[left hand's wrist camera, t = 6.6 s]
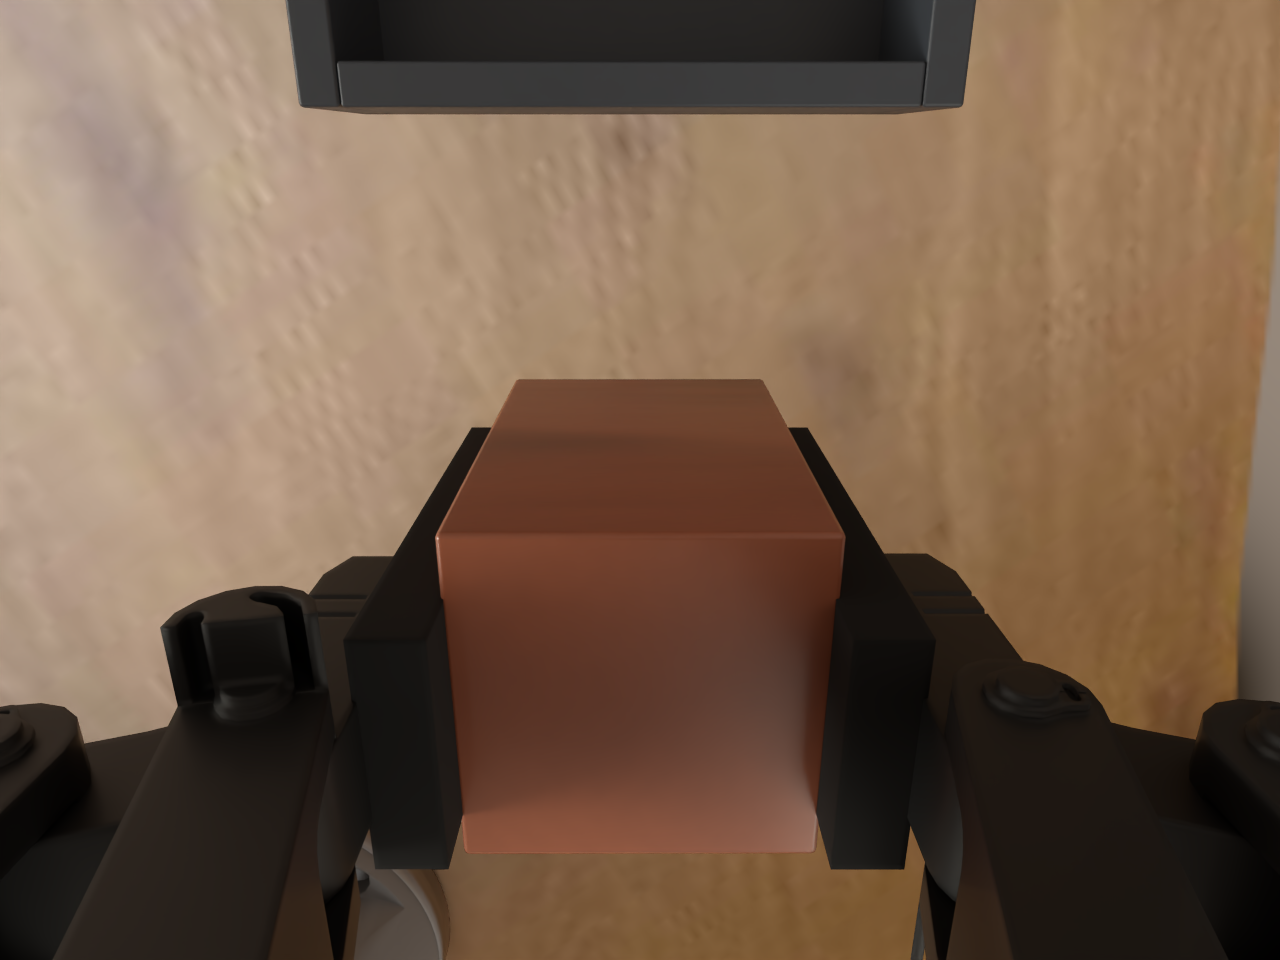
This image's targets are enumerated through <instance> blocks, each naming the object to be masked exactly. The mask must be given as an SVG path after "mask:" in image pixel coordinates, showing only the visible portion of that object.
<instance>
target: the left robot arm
mask: <svg viewBox="0 0 1280 960" xmlns="http://www.w3.org/2000/svg"><path fill="white" fill-rule="evenodd" d="M788 429H789V431H790V433H791V434H792V436H793V438H794V440H795V442H796V444H797V446H798V448H799V449H800V451H801V453H802V455H803V457H804V459H805V461H806V463H807V464H808V466H809V468H810V470H811V472H812V474H813V476H814V478H815V479H816V481H817V483H818V485H819V487H820V489H821V491H822V492H823V494H824V496H825V498H826V500H827V502H828V504H829V506H830V507H831V509H832V511H833V513H834V515H835V517H836V519H837V521H838V522H839V524H840V526H841V528H842V530H843V532H844V534H845V537H846V538H845V549H844V560H843V570H842V581H841V591H840V597H839V599H836V606H835V617H834V628H833V639H832V649H831V660H830V671H829V682H828V693H827V704H826V714H825V725H824V736H823V747H822V758H821V769H820V779H819V790H818V801H817V812H816V815H817V819H818V823H819V827H820V830H821V834H822V838H823V842H824V845H825V849H826V853H827V857H828V860H829V864H830V868H831V869H904V867H905V860H906V853H907V846H908V839H909V832H910V825H911V828H912V830H913V833H914V835H915V838H916V840H917V843H918V845H919V848H920V850H921V853H922V855H923V858H924V860H925V866H924V873H923V880H922V886H921V893H920V900H919V906H918V913H917V920H916V926H915V933H914V940H913V946H912V953H911V960H923V955H924V949H925V953H926V960H1280V703H1278V702H1272V701H1256V700H1244V699H1236V700H1231V701H1225V702H1219V703H1215V704H1214V705H1213V706H1212V707H1210V708H1209V709H1208V710H1206V711H1205V712H1204V713H1203V716H1202V720H1201V723H1200V727H1199V731H1198V734H1197V738H1196V740H1194V739H1189V738H1183V737H1178V736H1173V735H1168V734H1162V733H1157V732H1152V731H1147V730H1141V729H1136V728H1131V727H1127V726H1123V725H1119V724H1115V723H1111V722H1110V720H1109V718H1108V716H1107V714H1106V712H1105V710H1104V708H1103V706H1102V704H1101V703H1100V702H1099V701H1098V700H1097V698H1096V697H1095V696H1094V695H1093V694H1092V692H1091V691H1090V690H1089V689H1088V688H1086V687H1085V686H1083V685H1082V684H1080V683H1079V682H1077V681H1076V680H1074V679H1073V678H1071V677H1069V676H1068V675H1066V674H1064V673H1061V672H1058V671H1056V670H1053V669H1051V668H1048V667H1045V666H1043V665H1040V664H1036V663H1031V662H1026V661H1023V660H1022V659H1021V657H1020V656H1019V655H1018V653H1017V652H1016V651H1015V649H1014V648H1013V647H1012V645H1011V644H1010V643H1009V641H1008V640H1007V639H1006V637H1005V636H1004V635H1003V633H1002V632H1001V631H1000V629H999V628H998V627H997V625H996V624H995V623H994V621H993V620H992V619H991V617H990V616H989V615H988V614H985V612H984V608H983V607H982V605H981V604H980V603H979V601H978V600H977V599H976V597H975V596H972V595H971V591H970V589H969V588H968V587H967V585H966V584H965V583H964V581H963V580H962V579H961V578H960V576H959V575H958V574H957V572H956V571H954V570H953V569H951V568H950V567H948V566H946V565H945V564H943V563H941V562H940V561H938V560H936V559H935V558H933V557H932V556H930V555H928V554H884V553H883V551H882V550H881V548H880V546H879V545H878V543H877V541H876V540H875V538H874V536H873V535H872V533H871V532H870V530H869V528H868V527H867V525H866V523H865V522H864V520H863V518H862V517H861V515H860V513H859V512H858V510H857V508H856V507H855V505H854V504H853V502H852V500H851V499H850V497H849V495H848V494H847V492H846V490H845V489H844V487H843V485H842V484H841V482H840V480H839V479H838V477H837V476H836V474H835V472H834V471H833V469H832V467H831V466H830V464H829V462H828V461H827V459H826V457H825V456H824V454H823V452H822V451H821V449H820V448H819V446H818V444H817V443H816V441H815V439H814V438H813V436H812V434H811V433H810V431H809V429H808V428H788ZM490 430H491V428H471V430H470V431H469V433H468V435H467V436H466V438H465V440H464V441H463V443H462V445H461V446H460V448H459V450H458V451H457V453H456V454H455V456H454V458H453V459H452V461H451V463H450V464H449V466H448V468H447V469H446V471H445V473H444V474H443V476H442V478H441V479H440V481H439V482H438V484H437V486H436V487H435V489H434V491H433V492H432V494H431V496H430V497H429V499H428V501H427V502H426V504H425V506H424V507H423V509H422V510H421V512H420V514H419V515H418V517H417V519H416V520H415V522H414V524H413V525H412V527H411V529H410V530H409V532H408V534H407V535H406V537H405V538H404V540H403V542H402V543H401V545H400V547H399V548H398V550H397V552H396V553H395V555H394V556H353V557H351V558H349V559H348V560H346V561H345V562H343V563H341V564H340V565H338V566H336V567H335V568H333V569H332V570H330V571H328V572H327V573H325V574H324V575H323V576H322V577H321V579H320V580H319V581H318V583H317V584H316V585H315V587H314V588H313V589H312V591H311V592H310V593H309V595H308V594H306V593H305V592H304V591H301V590H297V589H292V588H288V587H284V586H254V587H248V588H242V589H236V590H230V591H225V592H222V593H219V594H216V595H213V596H210V597H207V598H204V599H201V600H198V601H196V602H194V603H192V604H190V605H189V606H187V607H185V608H183V609H181V610H179V611H178V612H176V613H174V614H173V615H172V616H171V617H170V618H169V619H168V620H167V621H166V622H165V623H164V624H163V625H162V626H161V627H160V629H161V633H162V638H163V642H164V647H165V651H166V656H167V660H168V664H169V669H170V673H171V678H172V682H173V687H174V691H175V696H176V700H177V704H178V707H177V709H176V711H175V713H174V715H173V717H172V719H171V721H170V723H169V725H168V727H164V728H160V729H156V730H152V731H148V732H143V733H138V734H132V735H127V736H122V737H117V738H112V739H106V740H101V741H96V742H91V743H85V744H84V741H83V737H82V734H81V730H80V726H79V723H78V719H77V717H76V716H75V715H74V714H72V713H71V712H70V711H69V710H67V709H66V708H65V707H61V706H55V705H49V704H43V703H37V704H26V705H9V706H3V707H0V960H445V959H446V955H447V950H448V946H449V938H450V918H449V912H448V906H447V903H446V899H445V896H444V893H443V890H442V888H441V886H440V884H439V881H438V879H437V877H436V876H435V874H434V872H433V870H432V869H449V865H450V862H451V858H452V854H453V850H454V846H455V843H456V839H457V835H458V831H459V828H460V824H461V820H462V816H463V809H462V799H461V788H460V777H459V766H458V755H457V745H456V734H455V723H454V712H453V701H452V691H451V680H450V669H449V658H448V647H447V637H446V626H445V615H444V604H443V599H441V595H440V584H439V573H438V562H437V552H436V541H435V537H436V534H437V532H438V530H439V528H440V526H441V524H442V522H443V520H444V518H445V516H446V514H447V512H448V510H449V509H450V507H451V505H452V503H453V501H454V499H455V497H456V495H457V493H458V491H459V489H460V487H461V486H462V484H463V482H464V480H465V478H466V476H467V474H468V472H469V470H470V468H471V466H472V464H473V462H474V461H475V459H476V457H477V455H478V453H479V451H480V449H481V447H482V445H483V443H484V441H485V439H486V438H487V436H488V434H489V432H490Z"/></svg>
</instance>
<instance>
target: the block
mask: <svg viewBox="0 0 1280 960" xmlns="http://www.w3.org/2000/svg"><path fill="white" fill-rule="evenodd" d="M845 538H846V537H845V534H844V532H843V530H842V528H841V526H840V524H839V522H838V521H837V519H836V517H835V515H834V513H833V511H832V509H831V507H830V506H829V504H828V502H827V500H826V498H825V496H824V494H823V492H822V491H821V489H820V487H819V485H818V483H817V481H816V479H815V478H814V476H813V474H812V472H811V470H810V468H809V466H808V464H807V463H806V461H805V459H804V457H803V455H802V453H801V451H800V449H799V448H798V446H797V444H796V442H795V440H794V438H793V436H792V434H791V433H790V431H789V429H788V427H787V425H786V423H785V421H784V419H783V418H782V416H781V414H780V412H779V410H778V408H777V406H776V405H775V403H774V401H773V399H772V397H771V395H770V393H769V391H768V390H767V388H766V386H765V384H764V382H763V381H762V380H760V379H589V380H517V381H516V382H515V384H514V386H513V388H512V390H511V391H510V393H509V395H508V397H507V399H506V401H505V403H504V405H503V407H502V409H501V411H500V413H499V414H498V416H497V418H496V420H495V422H494V424H493V426H492V428H491V430H490V432H489V434H488V436H487V438H486V439H485V441H484V443H483V445H482V447H481V449H480V451H479V453H478V455H477V457H476V459H475V461H474V462H473V464H472V466H471V468H470V470H469V472H468V474H467V476H466V478H465V480H464V482H463V484H462V486H461V487H460V489H459V491H458V493H457V495H456V497H455V499H454V501H453V503H452V505H451V507H450V509H449V510H448V512H447V514H446V516H445V518H444V520H443V522H442V524H441V526H440V528H439V530H438V532H437V534H436V537H435V541H436V552H437V562H438V573H439V584H440V595H441V599H443V604H444V615H445V626H446V637H447V647H448V658H449V669H450V680H451V691H452V701H453V712H454V723H455V734H456V745H457V755H458V766H459V777H460V788H461V799H462V809H463V816H462V830H463V841H464V849H465V851H466V853H469V854H547V853H813V852H815V850H816V846H817V835H818V824H819V823H818V819H817V815H816V812H817V801H818V790H819V779H820V769H821V758H822V747H823V736H824V725H825V714H826V704H827V693H828V682H829V671H830V660H831V649H832V639H833V628H834V617H835V606H836V599H839V597H840V591H841V581H842V570H843V560H844V549H845Z"/></svg>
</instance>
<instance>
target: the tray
mask: <svg viewBox="0 0 1280 960" xmlns="http://www.w3.org/2000/svg"><path fill="white" fill-rule="evenodd" d="M975 5H976V0H286V7H287V15H288V23H289V30H290V38H291V45H292V53H293V61H294V68H295V76H296V83H297V91H298V99H299V104H300V106H302V107H305V108H314V109H323V110H333V111H342V112H351V113H360V114H903V113H913V112H922V111H931V110H940V109H949V108H959V107H961V106H962V105H963V101H964V93H965V85H966V77H967V69H968V61H969V53H970V45H971V37H972V29H973V21H974V13H975Z"/></svg>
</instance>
